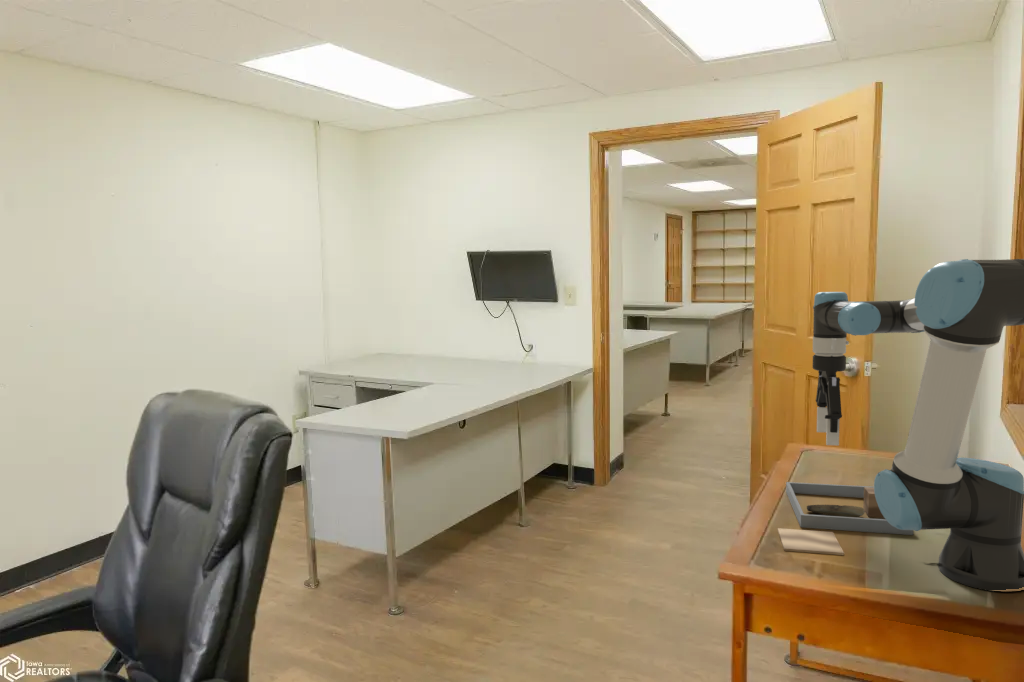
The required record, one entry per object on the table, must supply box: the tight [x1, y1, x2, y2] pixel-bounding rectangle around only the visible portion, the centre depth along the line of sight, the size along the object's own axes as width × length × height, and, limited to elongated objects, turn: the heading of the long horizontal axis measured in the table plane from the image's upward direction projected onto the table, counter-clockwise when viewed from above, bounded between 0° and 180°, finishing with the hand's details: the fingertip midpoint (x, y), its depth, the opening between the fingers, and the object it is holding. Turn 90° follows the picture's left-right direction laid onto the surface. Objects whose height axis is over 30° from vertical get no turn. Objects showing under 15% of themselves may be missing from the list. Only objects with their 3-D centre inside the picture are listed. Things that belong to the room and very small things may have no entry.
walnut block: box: [862, 487, 885, 519], centre depth 170 cm, size 5×5×6 cm
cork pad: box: [777, 527, 845, 556], centre depth 154 cm, size 12×12×1 cm
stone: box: [806, 504, 866, 518], centre depth 169 cm, size 13×5×2 cm, turn 70°
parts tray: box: [785, 481, 914, 536], centre depth 172 cm, size 26×24×3 cm
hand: (827, 438), depth 171 cm, fingers open, 13 cm apart
